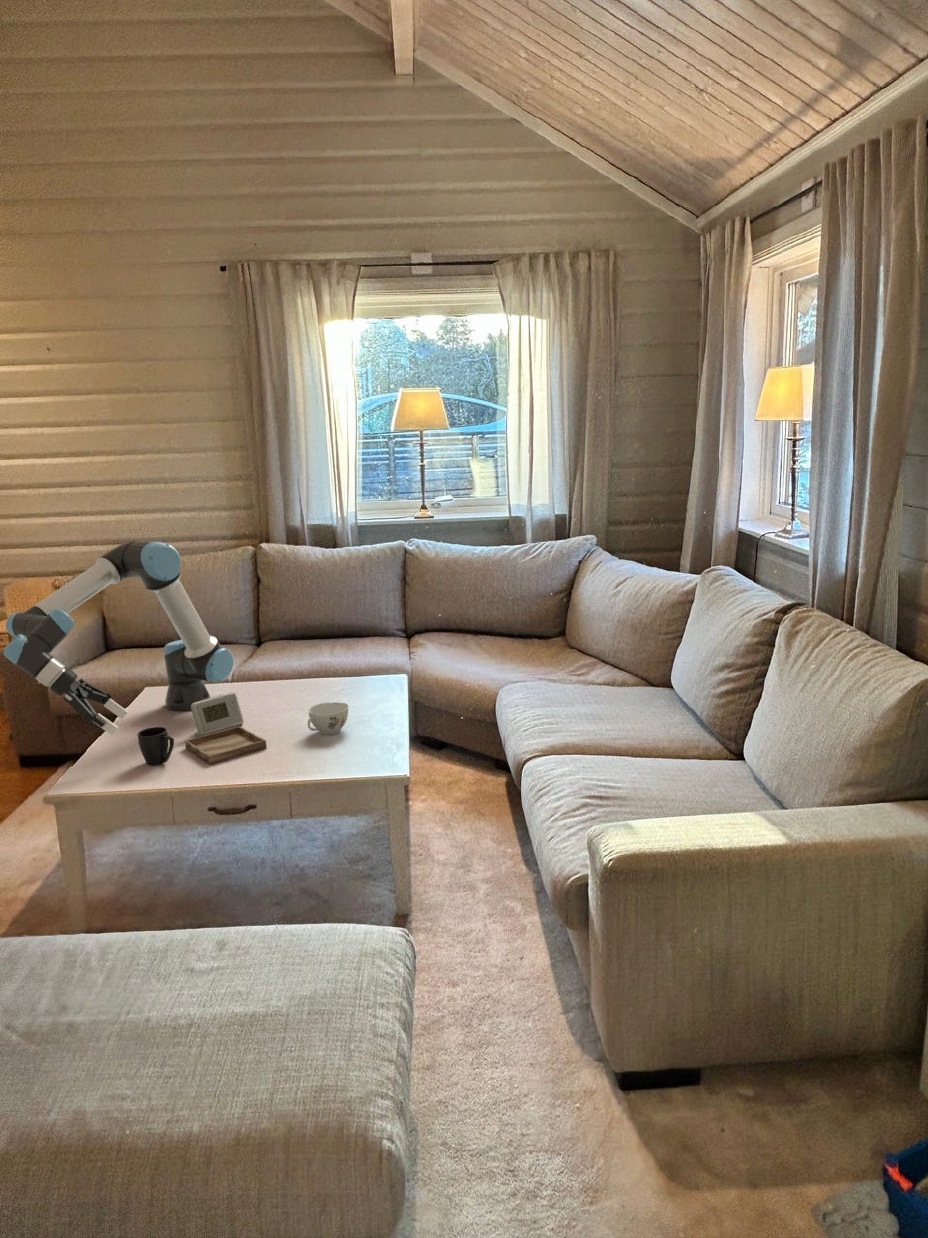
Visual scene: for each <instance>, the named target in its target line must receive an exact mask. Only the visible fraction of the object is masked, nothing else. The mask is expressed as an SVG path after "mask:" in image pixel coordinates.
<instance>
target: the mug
mask: <svg viewBox="0 0 928 1238" xmlns="http://www.w3.org/2000/svg"><path fill="white" fill-rule="evenodd" d="M137 740H138V746H139V749H140V752H141V754H142V757H143V759H144V761H145V764H146V766H149V767H150V766H151V767H155V766H160V765H162V764H165V763H167V762H168V761H169V759H170V757H171V754H172V752H173V750H174V747H175V746H174V745H175V739H174V737H173V736H172V735H169V733H168V729H167V728H166V727H162V726H154V727H148V728H145V729H142V730H139V732H138V733H137Z"/></svg>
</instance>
